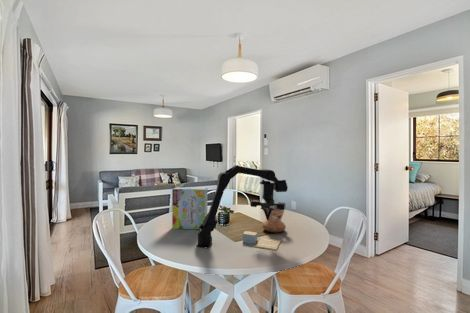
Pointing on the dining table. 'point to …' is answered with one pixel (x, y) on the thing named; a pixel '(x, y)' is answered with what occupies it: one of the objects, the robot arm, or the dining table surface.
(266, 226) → the ceramic jug
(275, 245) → the pad
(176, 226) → the snack box
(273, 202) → the robot arm
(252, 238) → the stub
